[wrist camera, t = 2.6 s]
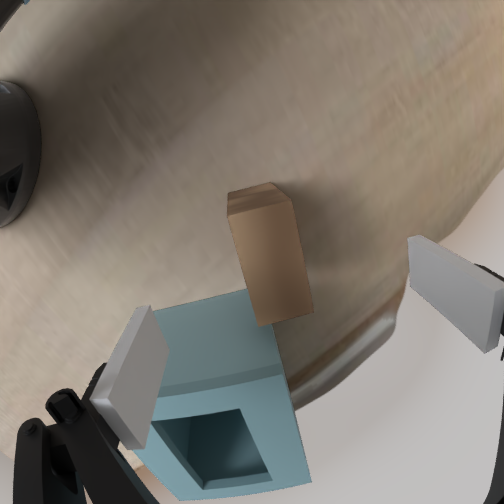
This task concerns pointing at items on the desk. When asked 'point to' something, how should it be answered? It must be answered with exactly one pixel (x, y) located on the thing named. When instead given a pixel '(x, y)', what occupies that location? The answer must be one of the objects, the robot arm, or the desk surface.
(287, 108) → the desk surface
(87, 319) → the desk surface
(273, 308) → the block
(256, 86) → the desk surface
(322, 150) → the desk surface
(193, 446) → the coin box
